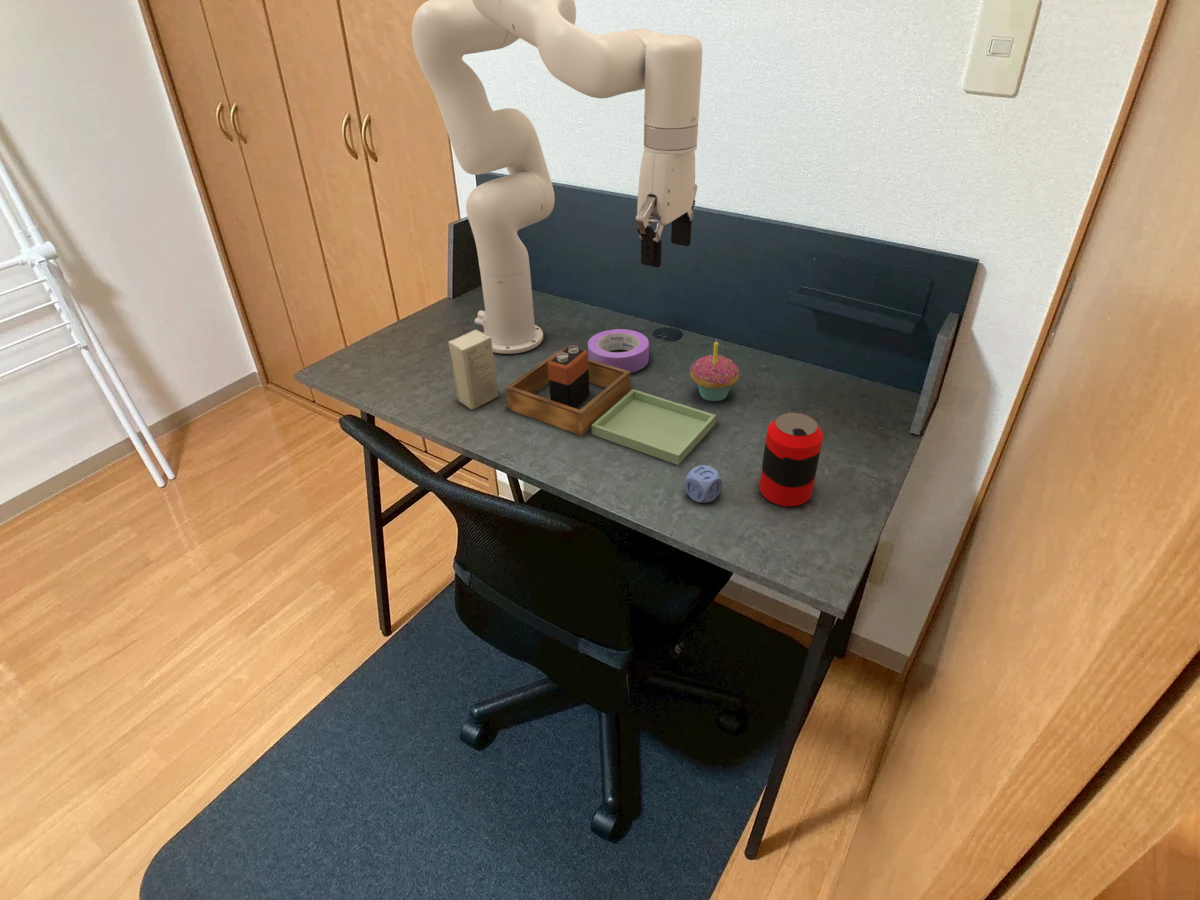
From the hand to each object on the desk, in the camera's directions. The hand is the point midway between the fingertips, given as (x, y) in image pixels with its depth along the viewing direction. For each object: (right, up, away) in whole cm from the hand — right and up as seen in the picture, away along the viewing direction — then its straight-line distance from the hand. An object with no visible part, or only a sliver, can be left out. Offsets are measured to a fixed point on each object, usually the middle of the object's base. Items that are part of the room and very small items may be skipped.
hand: (666, 254), depth 111 cm
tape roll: (-7, -13, +28) cm, 32 cm away
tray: (-1, -27, +9) cm, 28 cm away
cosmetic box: (-32, -21, +18) cm, 42 cm away
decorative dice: (+5, -37, -5) cm, 38 cm away
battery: (-15, -22, +17) cm, 31 cm away
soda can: (+17, -37, -5) cm, 41 cm away
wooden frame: (-16, -22, +16) cm, 31 cm away
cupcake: (+10, -20, +17) cm, 29 cm away
